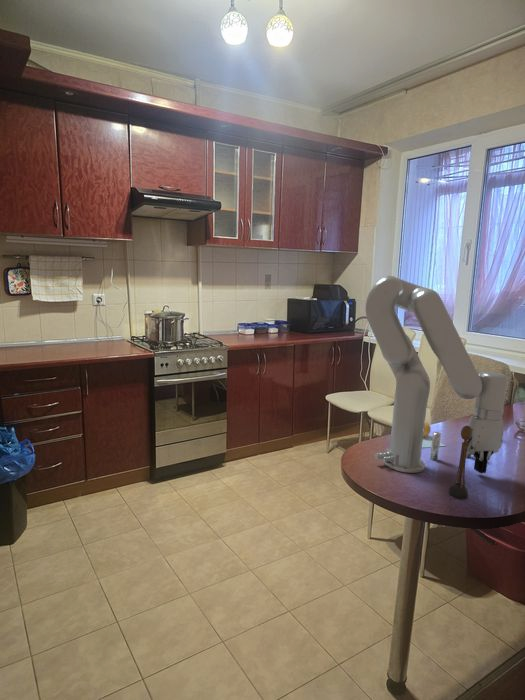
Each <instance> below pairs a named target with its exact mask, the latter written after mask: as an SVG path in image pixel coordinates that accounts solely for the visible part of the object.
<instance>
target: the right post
mask: <svg viewBox="0 0 525 700" xmlns="http://www.w3.org/2000/svg"><path fill="white" fill-rule="evenodd" d="M467 448H468V447H467ZM471 458H472V455H471V454H468V453H467V454H466V459H471Z"/></svg>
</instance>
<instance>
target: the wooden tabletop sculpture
mask: <svg viewBox="0 0 525 700" xmlns="http://www.w3.org/2000/svg"><path fill="white" fill-rule="evenodd" d="M472 431H473V429H472V428H471V427H470V426H468V425H465V426H463V427H462V428H461V431H460V438H461V439H462V440H463V442H461V449H460V457H459V463H458V469H457V472H456V475H455V476H456V477H455V480H454V482H453V484H452V485H451V486H450V487H449V489H448V494H449V496H451V497H452V498H454V499H458V500H467V499H468V498H469V492H468V488H467V487H466V482H465V481H466V480H465V479H466V478H465V473H466V472H465V471H466V461H467V458H466V454H467V447H468V443H467V440H469V439H470V438H471V436H472Z"/></svg>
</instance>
